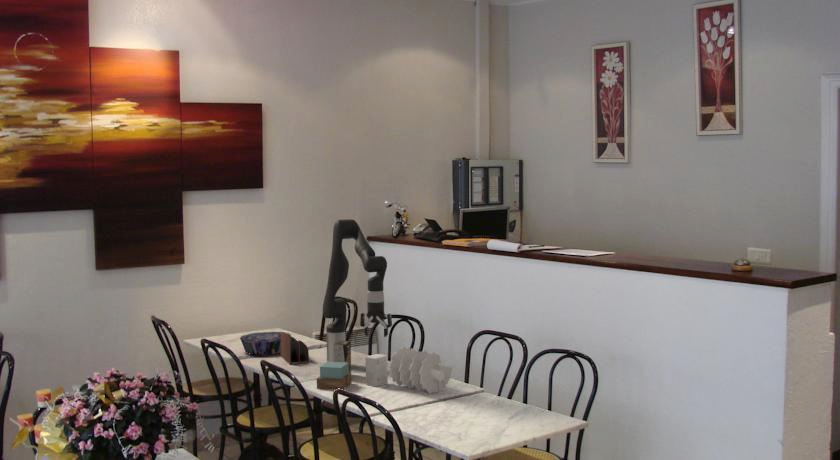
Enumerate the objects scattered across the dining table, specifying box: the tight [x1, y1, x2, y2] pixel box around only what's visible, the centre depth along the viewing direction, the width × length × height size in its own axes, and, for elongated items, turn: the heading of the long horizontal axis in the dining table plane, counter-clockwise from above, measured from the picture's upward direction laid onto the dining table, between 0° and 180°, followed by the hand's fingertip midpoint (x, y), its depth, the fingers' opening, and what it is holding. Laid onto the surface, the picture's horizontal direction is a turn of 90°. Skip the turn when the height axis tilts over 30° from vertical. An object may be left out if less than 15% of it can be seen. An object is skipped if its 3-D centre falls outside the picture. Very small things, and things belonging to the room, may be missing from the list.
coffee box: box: [333, 340, 352, 374], centre depth 399 cm, size 9×6×16 cm
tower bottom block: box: [316, 372, 352, 391], centre depth 383 cm, size 12×12×5 cm
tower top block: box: [319, 361, 349, 379], centre depth 383 cm, size 10×10×5 cm
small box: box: [365, 353, 389, 388], centre depth 385 cm, size 8×6×13 cm
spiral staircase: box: [388, 345, 453, 394], centre depth 375 cm, size 18×18×25 cm
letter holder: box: [280, 331, 310, 366], centre depth 434 cm, size 10×20×14 cm, turn 22°
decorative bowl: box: [239, 331, 292, 356], centre depth 455 cm, size 26×28×10 cm
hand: (376, 336), depth 383 cm, fingers open, 8 cm apart
